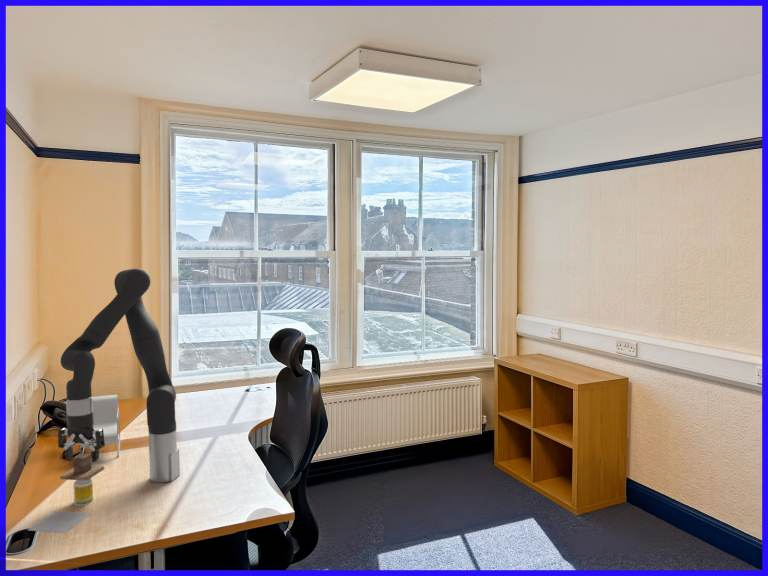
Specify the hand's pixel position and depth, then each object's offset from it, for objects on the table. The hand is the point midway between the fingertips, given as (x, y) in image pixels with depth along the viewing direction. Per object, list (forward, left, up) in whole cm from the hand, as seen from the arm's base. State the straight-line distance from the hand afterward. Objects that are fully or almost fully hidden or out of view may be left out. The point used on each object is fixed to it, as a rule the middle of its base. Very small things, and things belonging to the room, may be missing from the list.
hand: (82, 460), depth 187 cm
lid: (0, 0, -4) cm, 4 cm away
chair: (+22, -45, -14) cm, 52 cm away
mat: (-1, +13, -14) cm, 19 cm away
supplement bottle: (0, 0, -14) cm, 14 cm away
